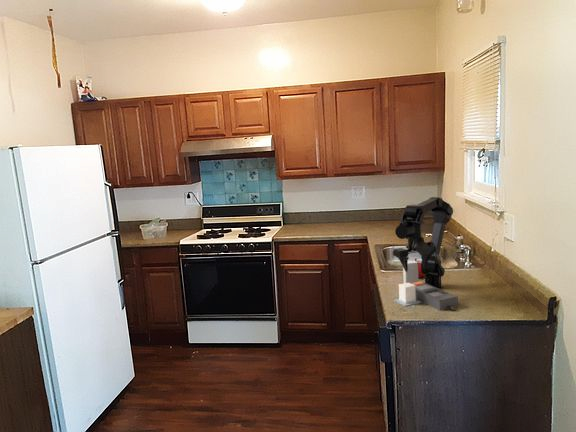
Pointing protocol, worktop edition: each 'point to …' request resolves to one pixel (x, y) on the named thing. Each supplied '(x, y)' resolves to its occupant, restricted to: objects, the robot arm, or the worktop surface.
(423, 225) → the clothes iron
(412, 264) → the skincare box
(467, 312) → the worktop surface
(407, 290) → the block
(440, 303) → the gray recessed block
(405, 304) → the mat
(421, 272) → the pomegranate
